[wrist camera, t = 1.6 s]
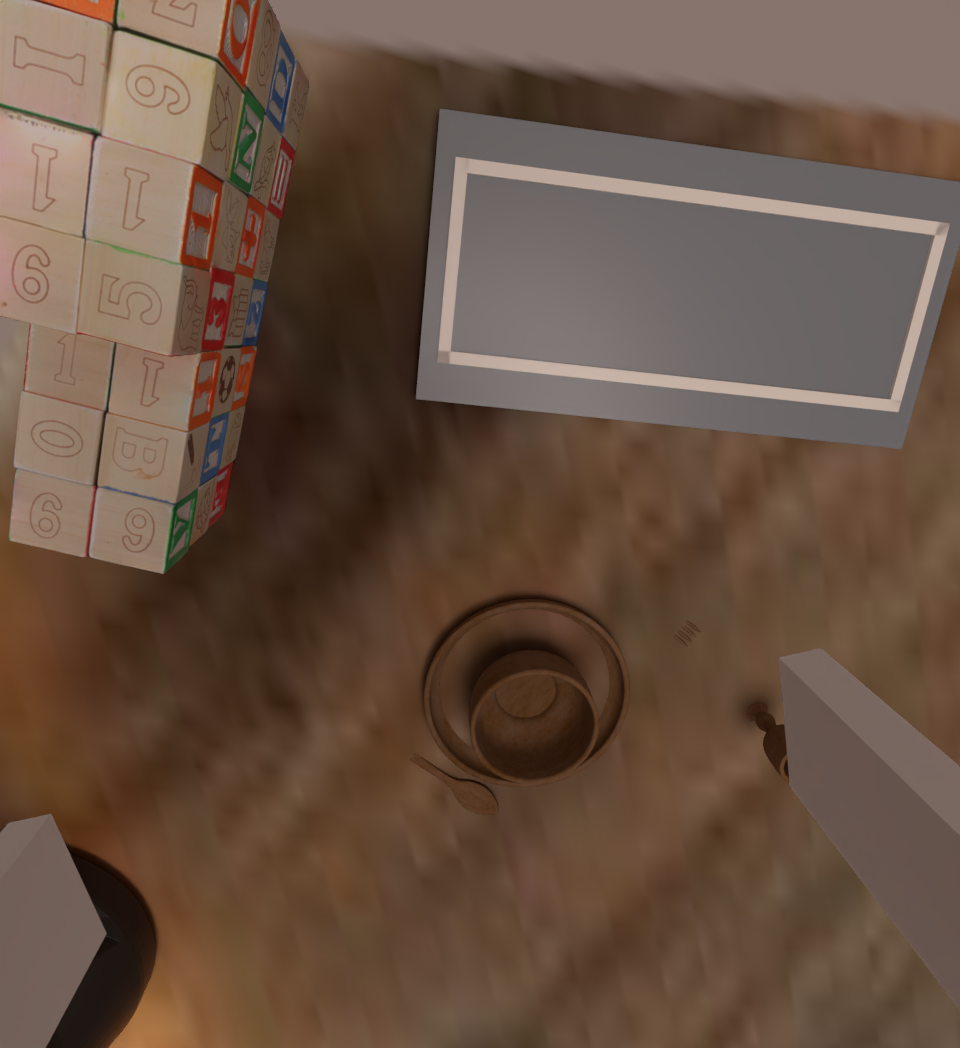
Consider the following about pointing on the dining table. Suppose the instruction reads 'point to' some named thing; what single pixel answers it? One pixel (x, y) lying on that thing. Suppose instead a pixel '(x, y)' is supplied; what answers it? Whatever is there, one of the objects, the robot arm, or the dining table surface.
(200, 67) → the stack of blocks
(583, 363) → the blueprint baseplate
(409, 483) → the dining table surface
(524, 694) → the place setting
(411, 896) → the dining table surface
